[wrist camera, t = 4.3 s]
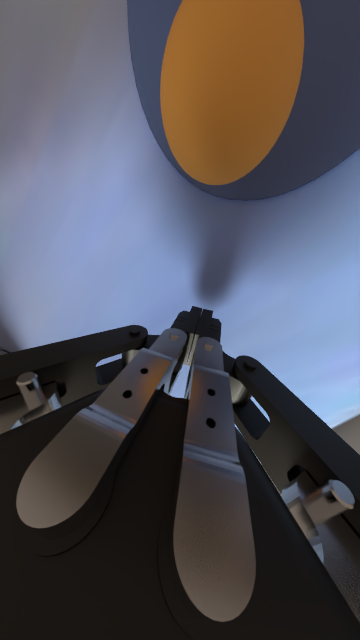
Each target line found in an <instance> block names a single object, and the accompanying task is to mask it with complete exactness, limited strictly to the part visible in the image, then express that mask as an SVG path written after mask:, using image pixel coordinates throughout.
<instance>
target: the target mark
mask: <svg viewBox="0 0 360 640" xmlns="http://www.w3.org/2000/svg"><path fill="white" fill-rule="evenodd" d="M181 2H182V0H127V4H128V31H129V40H130V50H131V59H132V65H133V70H134V75H135V81H136V86H137V90H138V93H139V97H140V101H141V104H142V108H143V110H144V113H145V116H146V118H147V121H148V124H149V126H150V129H151V131H152V133H153V135H154V137H155V139H156V141H157V143H158V145H159V146H160V148H161V149H162V151H163V152H164V154H165V155H166V157H167V158H168V160H169V161H170V162H171V163H172V165H173V166H174V167H175V168H176V169H177V170H178V172H179V173H180V174H182V175H183V176H184V177H185V178H186V179H187V180H188V181H190V182H191V183H192V184H194V185H195V186H197V187H199V188H200V189H202V190H203V191H206V192H208V193H211V194H213V195H215V196H219V197H223V198H227V199H235V200H255V199H263V198H268V197H272V196H277V195H280V194H283V193H285V192H288V191H291V190H294V189H296V188H298V187H300V186H302V185H304V184H306V183H308V182H310V181H312V180H315V179H316V178H318V177H319V176H321V175H323V174H324V173H326V172H327V171H329V170H331V169H332V168H334V167H335V166H337V165H338V164H340V163H341V162H342V161H344V160H345V159H346V158H347V157H349V156H350V155H351V154H353V153H354V152H355V151H357V150H358V149H359V148H360V0H300V3H301V9H302V15H303V24H304V53H303V64H302V71H301V77H300V82H299V86H298V90H297V93H296V97H295V100H294V104H293V107H292V109H291V112H290V115H289V117H288V120H287V122H286V124H285V126H284V128H283V130H282V132H281V134H280V136H279V137H278V139H277V141H276V142H275V144H274V146H273V147H272V148H271V150H270V151H269V153H268V154H267V155H266V156H265V158H264V159H263V160H262V161H261V162H260V163H259V164H258V165H257V166H256V167H255V168H254V169H253V170H252V171H250V172H249V173H248V174H246V175H245V176H243V177H242V178H240V179H238V180H236V181H234V182H231V183H228V184H224V185H208V184H205V183H202V182H199V181H197V180H195V179H194V178H192V177H191V176H190V175H188V174H187V173H186V172H185V171H184V170H183V169H182V167H181V166H180V165H179V163H178V162H177V160H176V159H175V157H174V155H173V153H172V151H171V149H170V146H169V144H168V141H167V138H166V135H165V131H164V127H163V121H162V114H161V103H160V83H161V71H162V62H163V57H164V52H165V48H166V43H167V39H168V36H169V32H170V29H171V26H172V23H173V20H174V18H175V15H176V13H177V11H178V9H179V7H180V4H181Z"/></svg>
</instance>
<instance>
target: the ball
mask: <svg viewBox="0 0 360 640" xmlns="http://www.w3.org/2000/svg"><path fill="white" fill-rule="evenodd" d="M303 53H304V24H303V15H302V9H301V3H300V0H182V2H181V4H180V7H179V9H178V11H177V13H176V15H175V18H174V20H173V23H172V26H171V29H170V32H169V36H168V39H167V43H166V48H165V52H164V57H163V62H162V71H161V83H160V103H161V114H162V121H163V127H164V131H165V135H166V138H167V141H168V144H169V146H170V149H171V151H172V153H173V155H174V157H175V159H176V160H177V162H178V163H179V165H180V166H181V167H182V169H183V170H184V171H185V172H186V173H187V174H188V175H190V176H191V177H192V178H194V179H195V180H197V181H199V182H202V183H205V184H208V185H224V184H228V183H231V182H234V181H236V180H238V179H240V178H242V177H243V176H245V175H246V174H248V173H249V172H250V171H252V170H253V169H254V168H255V167H256V166H257V165H258V164H259V163H260V162H261V161H262V160H263V159H264V158H265V156H266V155H267V154H268V153H269V151H270V150H271V148H272V147H273V146H274V144H275V142H276V141H277V139H278V137H279V136H280V134H281V132H282V130H283V128H284V126H285V124H286V122H287V120H288V117H289V115H290V112H291V109H292V107H293V104H294V100H295V97H296V93H297V90H298V86H299V82H300V77H301V71H302V64H303Z"/></svg>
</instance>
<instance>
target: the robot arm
mask: <svg viewBox="0 0 360 640" xmlns="http://www.w3.org/2000/svg"><path fill="white" fill-rule="evenodd" d="M201 312H202V314H201ZM212 314H213V311H211V310H207V309H203V311H202V308H198V307H194V306H192V308H191V311H190V312H188V311H182V312H180V313H179V314H178V316H177V318H176V320H175V321H174V323H173V325H172V326H171V328H169V329H166V330H164V331H163V332H162V334H161V335H148V331H147V329H146V328H144V327H142V326H139V325H130V326H126V327H121V328H117V329H113V330H108V331H104V332H99V333H95V334H91V335H86V336H82V337H78V338H73V339H69V340H65V341H60V342H56V343H52V344H47V345H43V346H38V347H34V348H30V349H25V350H21V351H17V352H12V353H7V352H4V351H2V350H0V640H360V455H359V454H358V453H357V452H356V451H355V450H354V449H353V448H351V447H350V446H349V445H348V444H347V443H346V442H345V441H344V440H343V439H342V438H341V437H340V436H339V435H337V434H336V433H335V432H334V431H333V430H332V429H331V428H330V427H329V426H328V425H327V424H326V423H325V422H323V421H322V420H321V419H320V418H319V417H318V416H317V415H316V414H315V413H314V412H313V411H312V410H311V409H309V408H308V407H307V406H306V405H305V404H304V403H303V402H302V401H301V400H300V399H299V398H298V397H296V396H295V395H294V394H293V393H292V392H291V391H290V390H289V389H288V388H287V387H286V386H285V385H284V384H282V383H281V382H280V381H279V380H278V379H277V378H276V377H275V376H274V375H273V374H272V373H271V372H270V371H268V370H267V369H266V368H265V367H264V366H263V365H262V364H261V363H260V362H259V361H257V360H256V359H254V358H252V357H249V356H238V357H237V358H236V359H234V358H232V357H230V356H228V355H227V354H226V353H224V352H223V351H222V346H221V344H220V337H221V322H220V321H219V319H215V318H212ZM200 316H201V317H200ZM190 352H191V353H190ZM121 353H122V358H121V359H118V360H115V361H112V362H109V363H107V364H104V365H101V366H98V367H95V366H96V364H97V363H98V362H99V361H100V360H102V359H105V358H108V357H111V356H114V355H118V354H121ZM189 355H190V357H189ZM188 358H189V361H188ZM187 362H188V366H190V370H189V374H188V378H187V383H186V389H185V395H184V398H175V397H172V396H170V393H171V391H172V389H173V386H174V384H175V382H176V380H177V378H178V375H179V373H180V370H181V368H182V365H183V364H185V365H187ZM251 396H253V397H254V398H255V400H256V401H257V402H258V403H259V404H260V406H261V407H262V408H263V409H264V410H265V411H266V413H267V414H268V416H269V419H270V422H269V421H268V420H267V418H266V417H265V416H264V415H263V414H262V412H261V411H260V410H259V409H258V408H257V406H256V405H255V404H254V403H253V401H252V400H251V399H250V398H251ZM234 423H235V424H236V426H237V427H238V429H239V430H240V432H241V433H242V434H241V433H240V432H239V430H238V429H237V428H236V427H235V424H234ZM250 447H251V448H250ZM252 450H253V451H252ZM254 453H255V454H254ZM255 455H256V456H257V457H256V456H255ZM257 458H258V459H259V460H258V459H257ZM259 461H260V462H261V464H262V465H263V467H264V468H265V470H266V471H267V473H268V474H269V476H270V477H271V479H272V481H273V482H274V483H275V485H276V487H277V488H278V490H279V491H280V493H281V494H282V496H280V494H279V492H278V491H277V489H276V488H275V486H274V484H273V483H272V481H271V480H270V478H269V477H268V475H267V473H266V472H265V470H264V469H263V467H262V465H261V464H260V462H259Z"/></svg>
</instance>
